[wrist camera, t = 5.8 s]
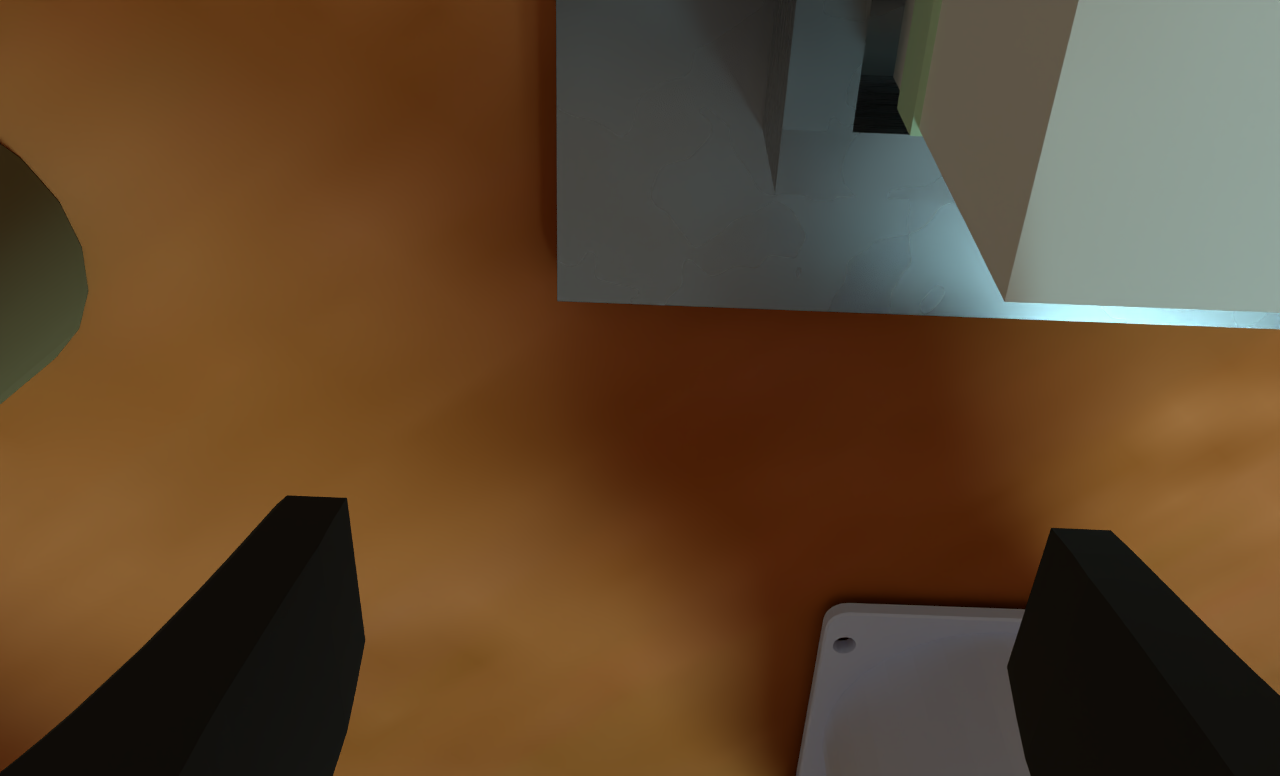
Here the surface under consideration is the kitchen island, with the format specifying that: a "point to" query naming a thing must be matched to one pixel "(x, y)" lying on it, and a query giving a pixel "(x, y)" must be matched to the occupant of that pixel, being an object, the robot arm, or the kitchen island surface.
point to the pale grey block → (1106, 144)
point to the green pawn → (35, 275)
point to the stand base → (765, 168)
